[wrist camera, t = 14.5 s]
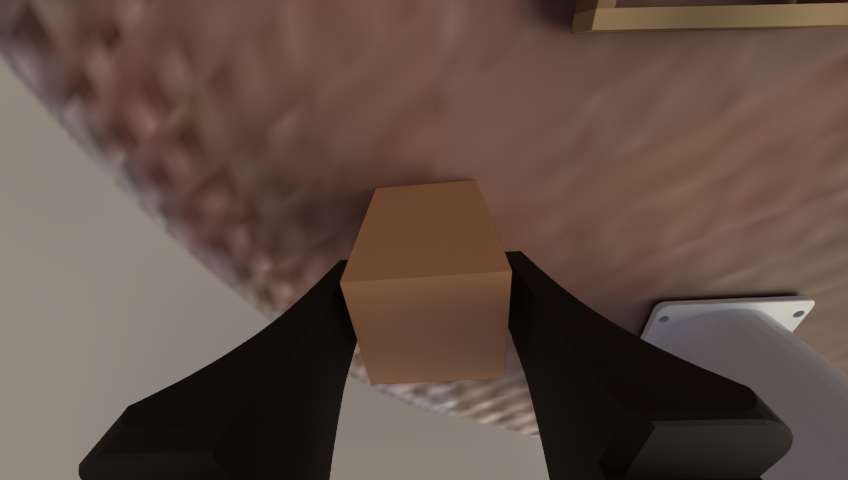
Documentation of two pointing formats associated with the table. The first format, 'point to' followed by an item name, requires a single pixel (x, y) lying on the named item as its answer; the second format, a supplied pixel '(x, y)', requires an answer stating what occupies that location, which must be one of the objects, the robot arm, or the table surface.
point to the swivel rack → (707, 17)
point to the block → (429, 286)
